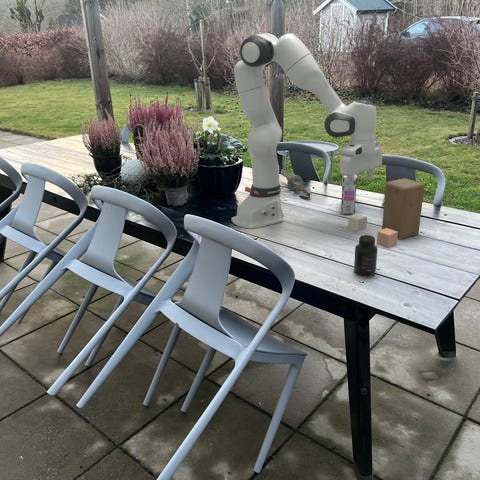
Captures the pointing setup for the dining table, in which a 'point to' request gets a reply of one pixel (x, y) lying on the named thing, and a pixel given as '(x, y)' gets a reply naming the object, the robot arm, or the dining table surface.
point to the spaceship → (296, 184)
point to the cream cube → (357, 222)
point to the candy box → (348, 196)
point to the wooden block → (403, 207)
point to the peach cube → (387, 237)
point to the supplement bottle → (365, 256)
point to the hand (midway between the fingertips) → (360, 182)
